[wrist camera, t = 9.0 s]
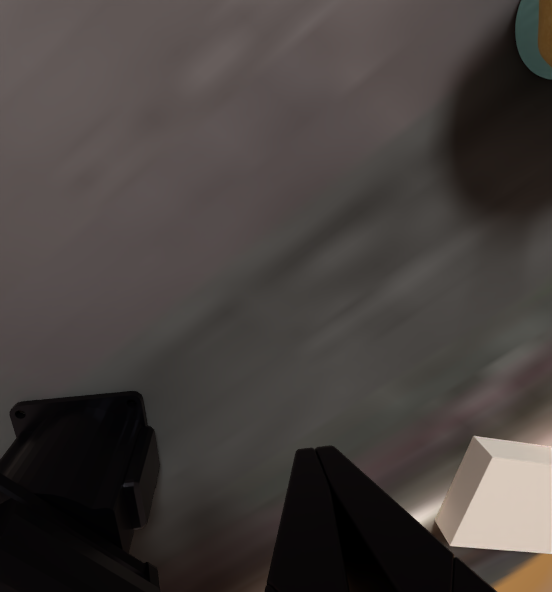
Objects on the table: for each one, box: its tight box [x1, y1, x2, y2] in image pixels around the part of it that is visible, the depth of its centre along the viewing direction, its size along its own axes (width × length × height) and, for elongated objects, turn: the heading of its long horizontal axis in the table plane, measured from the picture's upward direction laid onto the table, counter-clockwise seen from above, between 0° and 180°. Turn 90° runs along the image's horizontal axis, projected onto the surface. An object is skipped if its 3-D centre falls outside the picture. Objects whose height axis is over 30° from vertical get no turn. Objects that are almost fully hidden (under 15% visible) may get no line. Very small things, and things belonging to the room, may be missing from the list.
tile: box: [435, 436, 552, 554], centre depth 26 cm, size 2×7×10 cm
